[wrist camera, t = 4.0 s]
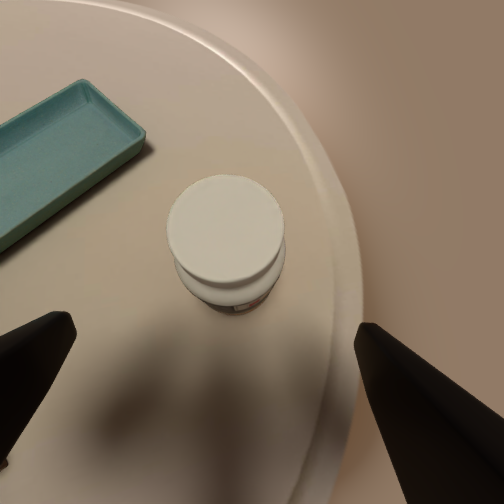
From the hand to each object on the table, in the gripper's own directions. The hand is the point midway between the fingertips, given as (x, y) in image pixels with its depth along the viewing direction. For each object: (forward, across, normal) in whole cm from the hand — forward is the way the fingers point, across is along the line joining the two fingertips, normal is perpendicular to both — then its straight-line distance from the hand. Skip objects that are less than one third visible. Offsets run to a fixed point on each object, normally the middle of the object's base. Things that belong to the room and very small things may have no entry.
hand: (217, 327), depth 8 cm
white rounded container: (+10, 0, +5) cm, 11 cm away
